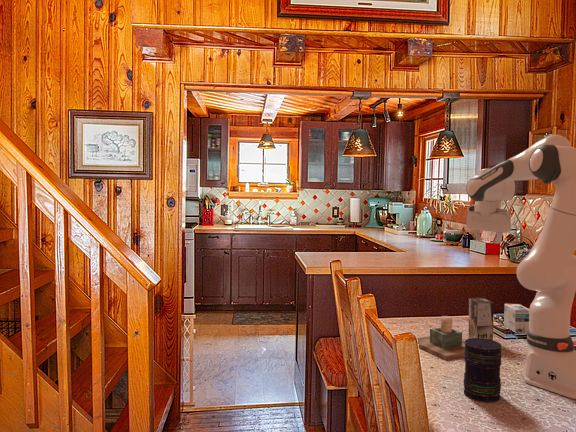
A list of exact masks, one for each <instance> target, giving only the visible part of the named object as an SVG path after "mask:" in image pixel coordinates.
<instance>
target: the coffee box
mask: <svg viewBox="0 0 576 432" xmlns="http://www.w3.org/2000/svg"><path fill="white" fill-rule="evenodd" d="M494 305H495V303H494V302H493V301H491V300H489V299H487V298H486V297H469V298H468V339H471V338H482V339H489V340H493V339H494V311H495V310H494V307H495V306H494ZM493 341H494V340H493Z"/></svg>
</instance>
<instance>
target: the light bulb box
mask: <svg viewBox="0 0 576 432" xmlns="http://www.w3.org/2000/svg"><path fill="white" fill-rule="evenodd" d="M529 310H530V308H527V307H526V306H523V305H522V304H520V303H504V311H503V312H504V313H503V315H504V316H503V318H504V319H503V320H504V321H503V322H504V323H503V327H504V326H506V327H507V328H509V329H510V330H512V331H513V332H515V333H519V334H525V335H527V331H528V330H529Z"/></svg>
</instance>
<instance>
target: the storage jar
mask: <svg viewBox="0 0 576 432" xmlns="http://www.w3.org/2000/svg"><path fill="white" fill-rule="evenodd" d="M464 341H465V350H464V355H465V357H463V359H464V363H465V365H464V373H463V374H464V375H463V395H464V396H465V397H467V398H468V399H470V400H473V401H476V402H480V403H496V402H498V401H500V399H501V395H500V394H501V390H502V384H501V380H502V379H501V366H502V359H503V358H502V348H503V347H502V344H501V343H500V342H498V341H496V340H489V339H482V338H471V339H469V338H468V339H465V340H464Z"/></svg>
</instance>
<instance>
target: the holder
mask: <svg viewBox="0 0 576 432" xmlns="http://www.w3.org/2000/svg"><path fill="white" fill-rule="evenodd" d="M416 338H417V339H418V344H419V349H421V350H422V349H423V350H422V351H425V352H427V353H429V354H431V355H433V354H434V355H433V356H435V355H436V357H437V356H438V358H440V359H442V360H444V361H448V360H454V359H459V358H460V359H461V358H464V357H465V355H464V350H465V340H463V332H462V331H459V330H457V329H455V328H452V333H446V334H445V333H442V332H441V327H436V328H435V327H434V328H430V329H429V336H422V337H420V336H419V337H416Z"/></svg>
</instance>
